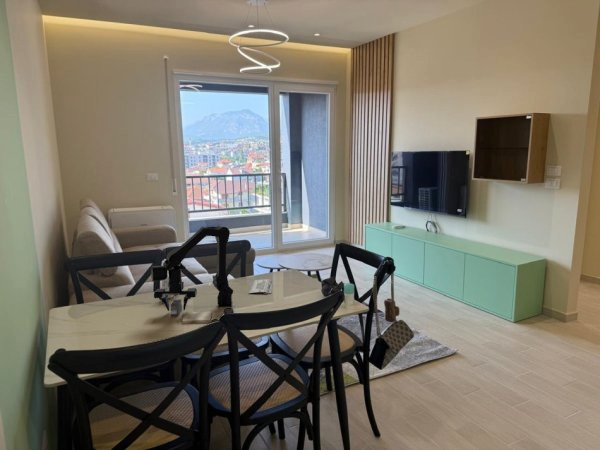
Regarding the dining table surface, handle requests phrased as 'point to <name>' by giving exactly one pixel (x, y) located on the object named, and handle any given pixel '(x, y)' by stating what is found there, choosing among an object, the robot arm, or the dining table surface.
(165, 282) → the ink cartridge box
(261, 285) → the newspaper
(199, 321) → the oak board
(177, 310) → the connector
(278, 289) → the dining table surface
